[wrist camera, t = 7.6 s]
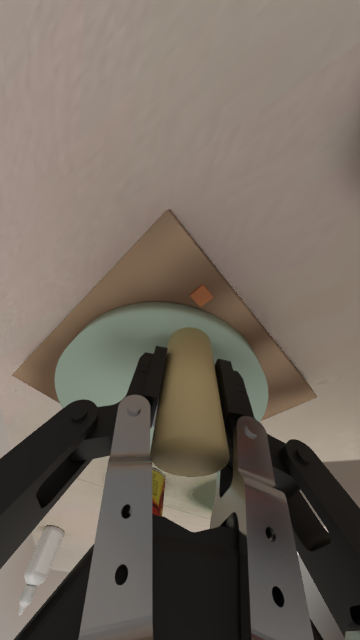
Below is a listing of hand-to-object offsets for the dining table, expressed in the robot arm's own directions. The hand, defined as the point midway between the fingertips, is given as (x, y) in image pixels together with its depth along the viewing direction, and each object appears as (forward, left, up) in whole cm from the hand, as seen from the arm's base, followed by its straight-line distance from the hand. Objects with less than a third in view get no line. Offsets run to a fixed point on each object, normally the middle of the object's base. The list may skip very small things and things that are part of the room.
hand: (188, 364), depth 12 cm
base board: (-3, +6, -6) cm, 9 cm away
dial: (-3, +6, -4) cm, 8 cm away
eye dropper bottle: (-25, +66, -6) cm, 70 cm away
